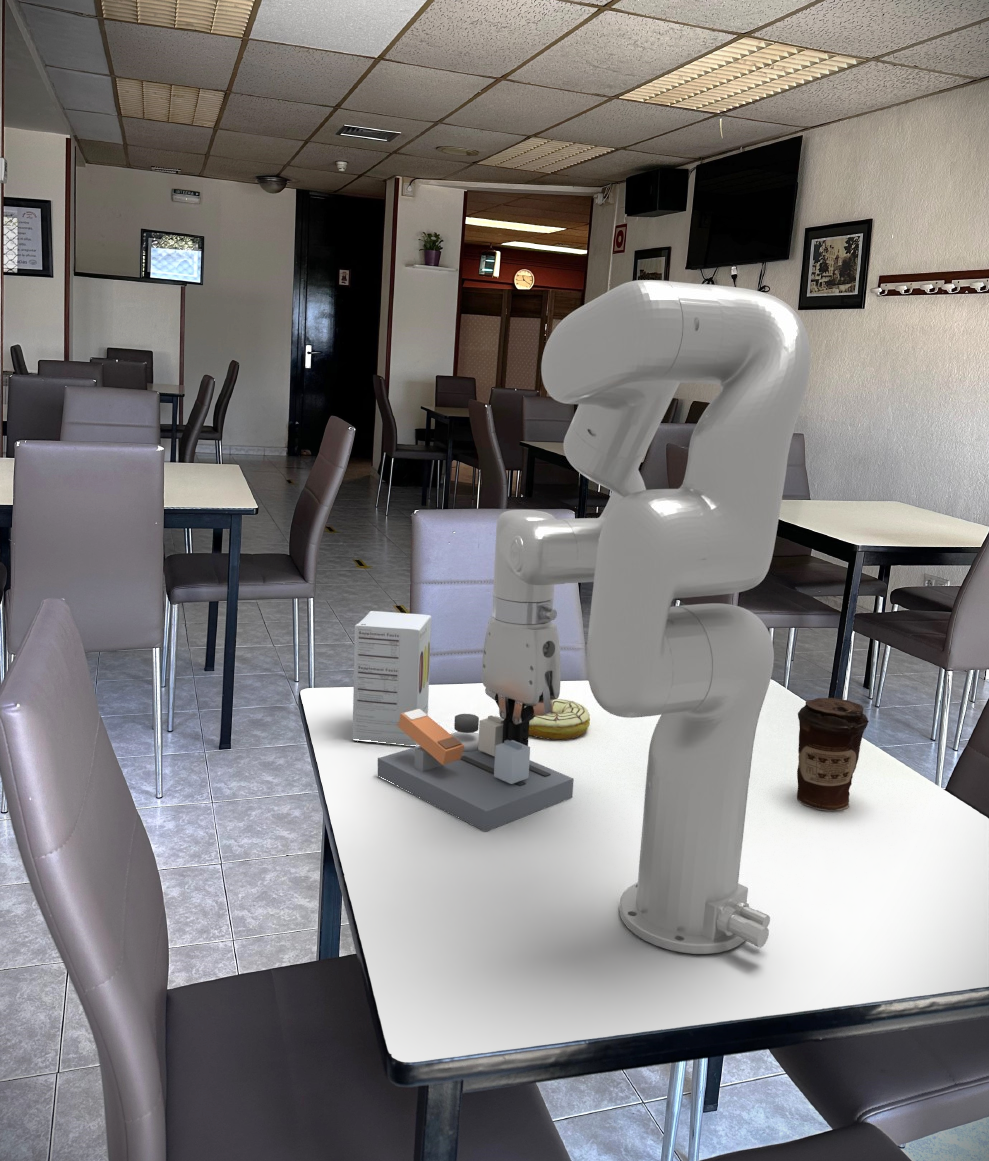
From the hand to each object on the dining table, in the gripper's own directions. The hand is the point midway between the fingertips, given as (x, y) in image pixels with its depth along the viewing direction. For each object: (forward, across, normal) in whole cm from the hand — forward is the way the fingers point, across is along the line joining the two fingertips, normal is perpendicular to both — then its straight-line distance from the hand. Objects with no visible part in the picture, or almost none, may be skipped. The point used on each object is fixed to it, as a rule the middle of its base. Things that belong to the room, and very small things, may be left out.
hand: (514, 748), depth 130 cm
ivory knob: (+1, +4, 0) cm, 4 cm away
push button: (0, +8, +1) cm, 8 cm away
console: (+4, +2, +6) cm, 7 cm away
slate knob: (+1, -4, +4) cm, 6 cm away
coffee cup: (+4, -29, -26) cm, 39 cm away
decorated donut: (+5, +10, -18) cm, 21 cm away
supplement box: (+4, +22, +2) cm, 23 cm away
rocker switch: (-2, +6, +10) cm, 11 cm away
